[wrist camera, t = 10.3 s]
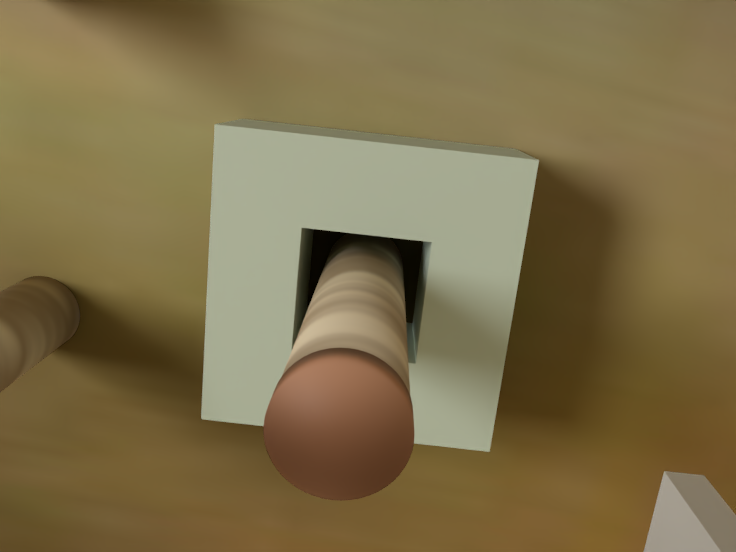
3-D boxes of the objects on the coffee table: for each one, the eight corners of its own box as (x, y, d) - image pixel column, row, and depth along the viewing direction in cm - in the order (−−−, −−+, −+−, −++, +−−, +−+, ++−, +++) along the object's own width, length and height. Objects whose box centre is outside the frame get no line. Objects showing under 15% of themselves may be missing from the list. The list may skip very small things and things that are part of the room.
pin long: (329, 224, 31) (268, 355, 16) (408, 233, 31) (423, 372, 16) (322, 299, 32) (258, 491, 17) (399, 308, 32) (404, 508, 17)
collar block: (243, 118, 30) (214, 124, 26) (515, 148, 30) (539, 160, 25) (228, 371, 34) (201, 419, 29) (475, 399, 33) (489, 451, 29)
